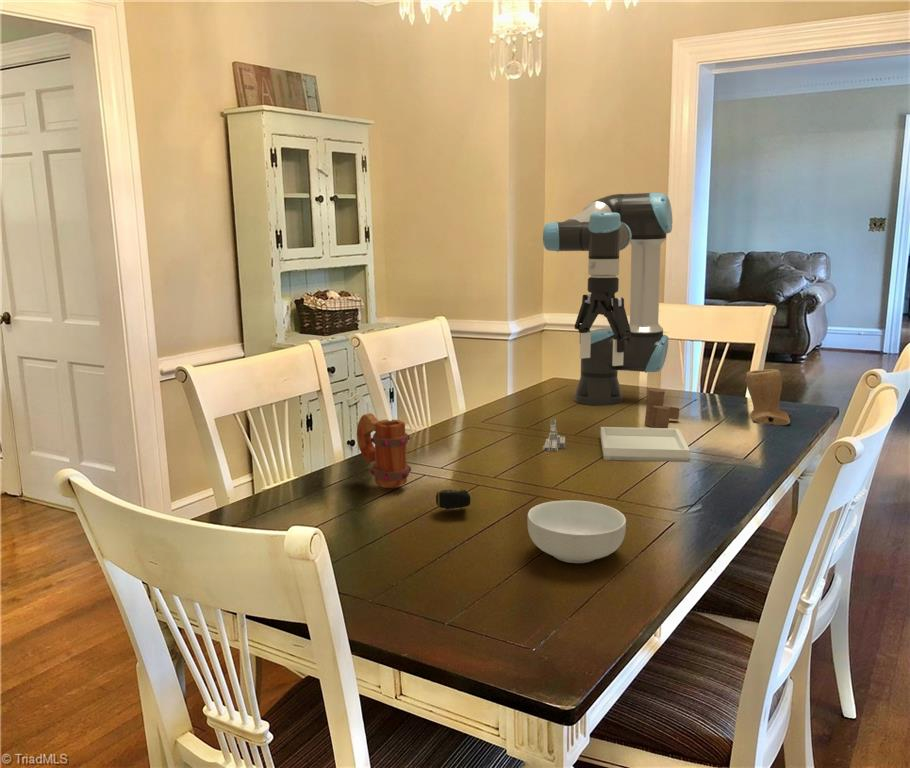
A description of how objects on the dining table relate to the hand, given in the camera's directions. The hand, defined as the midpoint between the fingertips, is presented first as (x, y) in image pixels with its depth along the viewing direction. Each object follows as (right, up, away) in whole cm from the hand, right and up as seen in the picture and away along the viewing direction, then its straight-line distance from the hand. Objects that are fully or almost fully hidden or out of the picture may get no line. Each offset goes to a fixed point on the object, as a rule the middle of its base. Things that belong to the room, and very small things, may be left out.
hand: (600, 361), depth 197 cm
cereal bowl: (-16, -35, -62) cm, 73 cm away
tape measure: (-34, -31, -42) cm, 63 cm away
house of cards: (-10, -22, +2) cm, 25 cm away
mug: (-53, -28, -23) cm, 64 cm away
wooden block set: (+20, -18, +19) cm, 33 cm away
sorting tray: (+10, -22, 0) cm, 24 cm away
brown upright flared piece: (+52, -17, +25) cm, 60 cm away
